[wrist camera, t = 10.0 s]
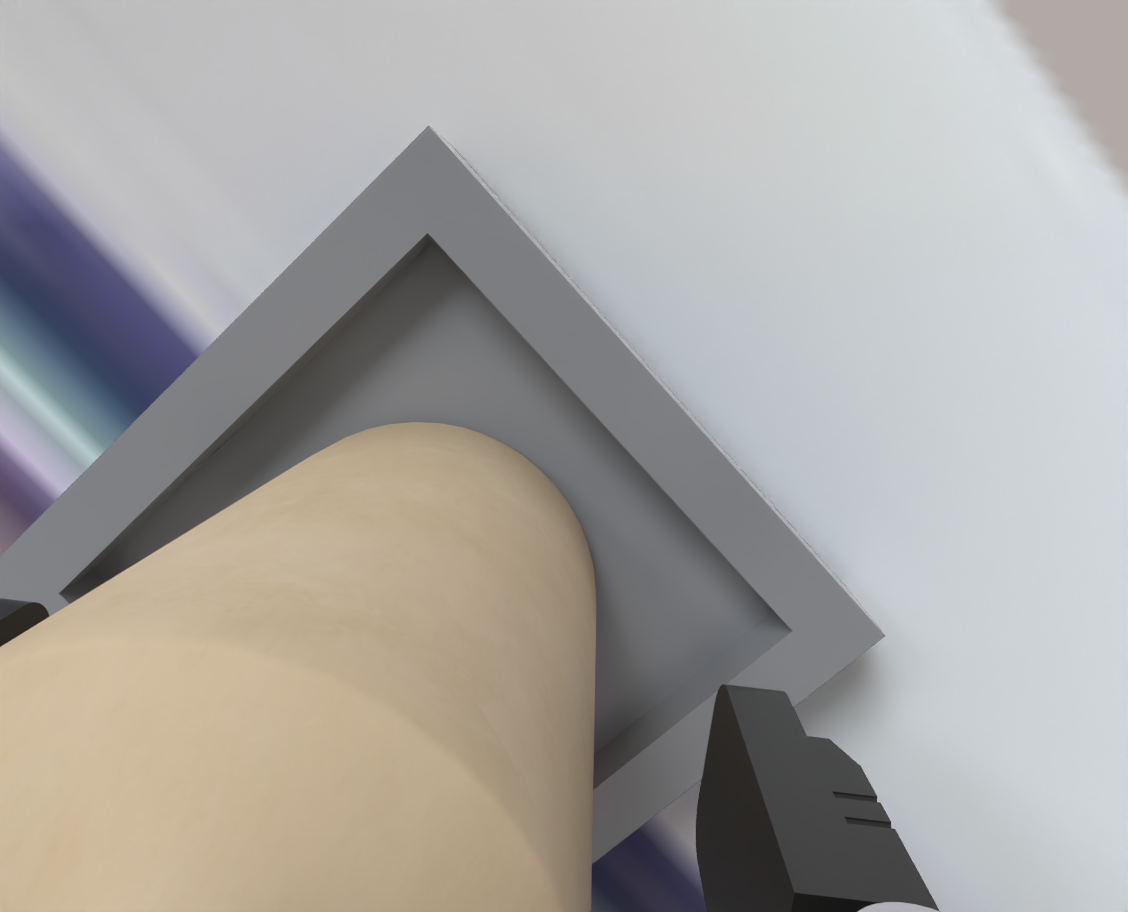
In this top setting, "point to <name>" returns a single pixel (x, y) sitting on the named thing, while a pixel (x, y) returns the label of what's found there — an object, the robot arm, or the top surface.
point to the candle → (319, 701)
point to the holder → (506, 413)
